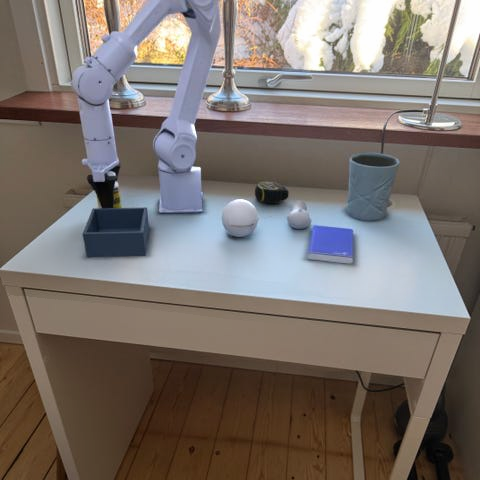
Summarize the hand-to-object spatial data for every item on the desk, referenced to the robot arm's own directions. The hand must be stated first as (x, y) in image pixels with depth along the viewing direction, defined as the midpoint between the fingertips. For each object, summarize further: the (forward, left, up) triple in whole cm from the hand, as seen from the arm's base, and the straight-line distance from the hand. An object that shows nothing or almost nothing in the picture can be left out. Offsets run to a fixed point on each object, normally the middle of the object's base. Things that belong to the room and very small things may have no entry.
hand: (109, 204), depth 98 cm
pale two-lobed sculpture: (-40, +5, -4) cm, 40 cm away
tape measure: (-36, -9, -4) cm, 37 cm away
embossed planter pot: (-56, 0, -4) cm, 56 cm away
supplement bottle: (0, 0, -2) cm, 2 cm away
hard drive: (-44, +16, -4) cm, 47 cm away
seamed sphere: (-28, +10, -4) cm, 30 cm away
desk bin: (-3, +12, -3) cm, 12 cm away
